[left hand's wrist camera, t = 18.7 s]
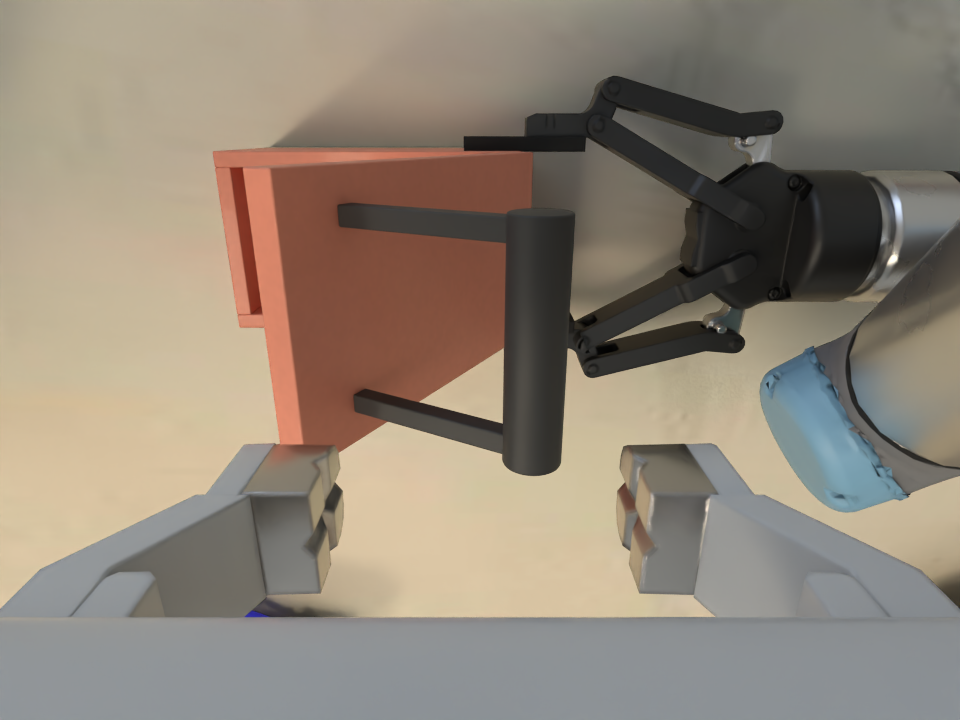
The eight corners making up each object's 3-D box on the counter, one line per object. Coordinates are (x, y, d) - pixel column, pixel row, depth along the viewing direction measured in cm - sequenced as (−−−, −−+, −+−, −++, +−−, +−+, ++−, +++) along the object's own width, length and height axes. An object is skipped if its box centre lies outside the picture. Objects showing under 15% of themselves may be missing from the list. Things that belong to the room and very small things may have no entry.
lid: (282, 465, 20) (516, 550, 16) (241, 166, 16) (526, 178, 12) (510, 329, 34) (666, 357, 30) (513, 151, 30) (691, 154, 26)
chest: (286, 289, 42) (238, 328, 34) (269, 147, 39) (211, 151, 31) (510, 289, 42) (518, 328, 34) (513, 147, 39) (523, 151, 31)
